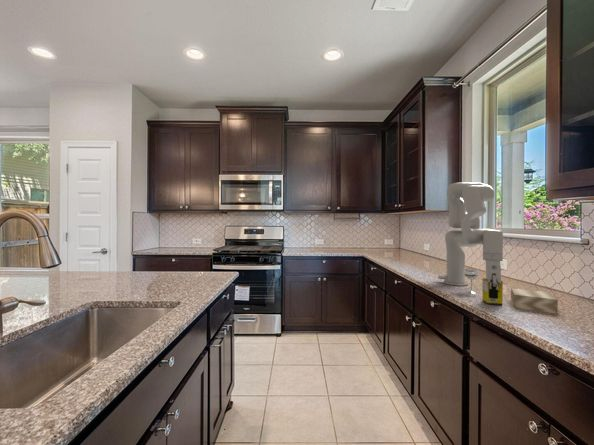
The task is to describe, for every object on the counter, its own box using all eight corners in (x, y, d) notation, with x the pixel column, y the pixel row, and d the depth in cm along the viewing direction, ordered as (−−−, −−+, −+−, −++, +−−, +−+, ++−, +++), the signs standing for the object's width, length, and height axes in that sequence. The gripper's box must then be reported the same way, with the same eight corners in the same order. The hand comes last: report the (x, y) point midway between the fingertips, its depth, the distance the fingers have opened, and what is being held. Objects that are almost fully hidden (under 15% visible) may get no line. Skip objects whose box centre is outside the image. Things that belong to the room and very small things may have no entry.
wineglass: (482, 293, 146) (482, 270, 146) (472, 294, 144) (472, 271, 144) (470, 290, 153) (470, 268, 153) (460, 291, 151) (461, 268, 151)
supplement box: (502, 305, 126) (503, 280, 126) (487, 304, 127) (488, 280, 127) (496, 301, 132) (496, 278, 132) (482, 301, 133) (482, 277, 133)
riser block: (514, 308, 123) (514, 294, 123) (511, 300, 135) (511, 288, 135) (557, 314, 115) (557, 299, 115) (550, 305, 127) (550, 292, 127)
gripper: (506, 259, 120) (505, 302, 120) (499, 255, 135) (499, 293, 135) (484, 258, 123) (484, 299, 124) (480, 254, 139) (480, 291, 139)
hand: (492, 295), depth 129 cm, fingers closed on supplement box, 7 cm apart
